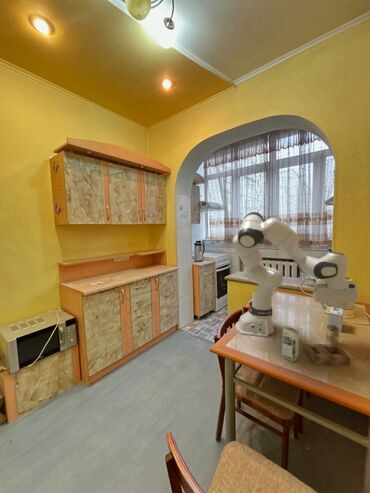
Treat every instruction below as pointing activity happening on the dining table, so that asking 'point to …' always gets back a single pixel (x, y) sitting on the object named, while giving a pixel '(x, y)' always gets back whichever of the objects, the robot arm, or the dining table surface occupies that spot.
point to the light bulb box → (336, 317)
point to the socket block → (326, 354)
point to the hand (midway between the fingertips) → (333, 309)
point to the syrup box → (290, 343)
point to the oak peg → (332, 334)
